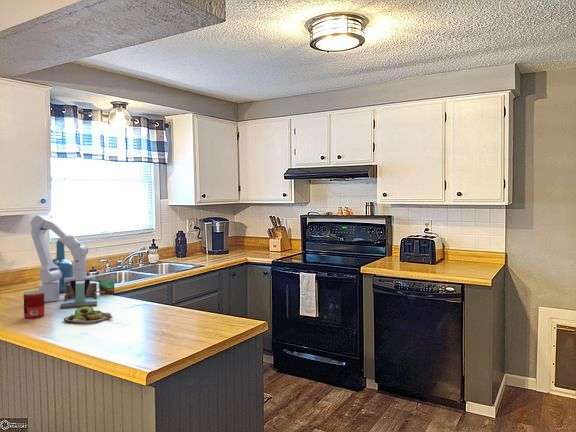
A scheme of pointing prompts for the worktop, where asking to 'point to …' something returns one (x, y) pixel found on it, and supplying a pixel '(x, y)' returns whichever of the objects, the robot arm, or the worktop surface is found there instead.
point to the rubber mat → (78, 304)
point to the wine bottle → (63, 266)
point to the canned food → (33, 304)
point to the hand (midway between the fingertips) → (80, 295)
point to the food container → (107, 284)
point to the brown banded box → (90, 291)
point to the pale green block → (80, 291)
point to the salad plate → (87, 316)
